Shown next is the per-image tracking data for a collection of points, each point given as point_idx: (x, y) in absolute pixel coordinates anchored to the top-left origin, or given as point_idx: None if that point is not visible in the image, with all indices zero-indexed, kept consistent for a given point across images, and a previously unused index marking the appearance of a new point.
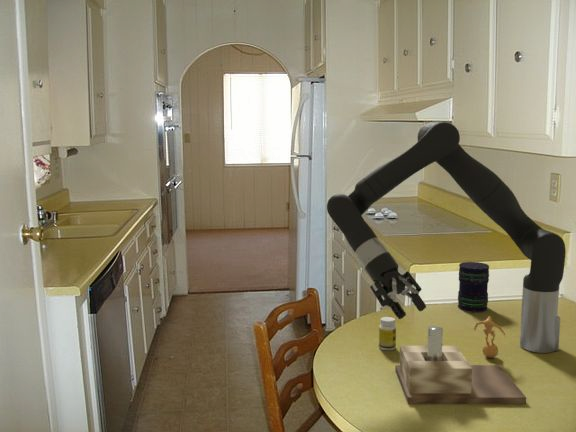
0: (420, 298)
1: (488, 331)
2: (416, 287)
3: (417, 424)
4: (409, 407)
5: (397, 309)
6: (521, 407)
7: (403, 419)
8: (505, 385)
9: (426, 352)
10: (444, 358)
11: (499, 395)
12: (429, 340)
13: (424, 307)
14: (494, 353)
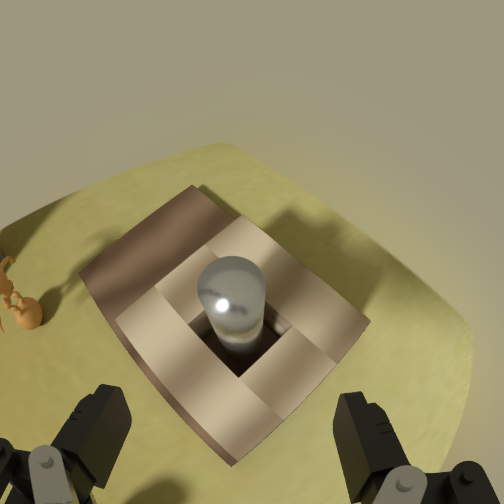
0: (78, 424)
1: (11, 289)
2: (6, 473)
3: (400, 272)
4: None
5: (390, 431)
6: (211, 191)
7: (408, 298)
8: (164, 224)
9: (224, 364)
10: (205, 314)
11: (215, 212)
12: (263, 312)
13: (119, 387)
14: (37, 302)
